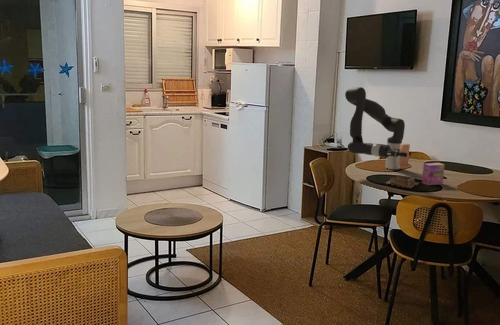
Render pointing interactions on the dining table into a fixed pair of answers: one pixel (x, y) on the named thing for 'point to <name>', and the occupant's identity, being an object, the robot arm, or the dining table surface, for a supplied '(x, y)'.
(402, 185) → the keeper cradle
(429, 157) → the dining table surface
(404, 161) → the pivot pin
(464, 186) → the dining table surface
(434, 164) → the box
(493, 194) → the dining table surface
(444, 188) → the dining table surface
